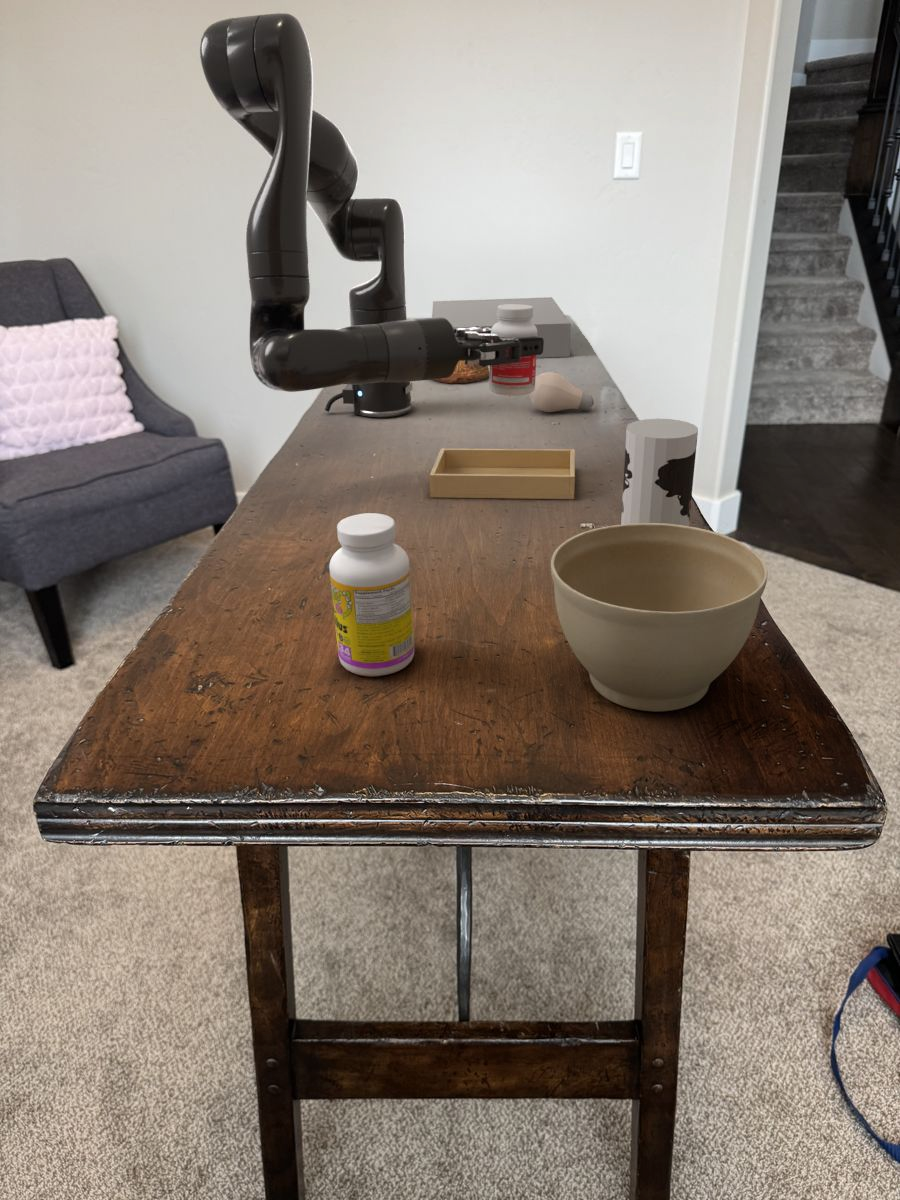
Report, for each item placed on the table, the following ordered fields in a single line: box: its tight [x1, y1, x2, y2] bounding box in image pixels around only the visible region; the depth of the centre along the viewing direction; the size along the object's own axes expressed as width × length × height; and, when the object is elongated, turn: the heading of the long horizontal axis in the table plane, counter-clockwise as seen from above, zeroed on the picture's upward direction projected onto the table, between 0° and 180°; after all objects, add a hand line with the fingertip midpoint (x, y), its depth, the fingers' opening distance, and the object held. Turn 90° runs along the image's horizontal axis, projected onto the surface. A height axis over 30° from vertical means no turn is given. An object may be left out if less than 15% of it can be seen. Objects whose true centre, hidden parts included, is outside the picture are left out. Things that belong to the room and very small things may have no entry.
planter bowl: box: [550, 523, 769, 713], centre depth 71 cm, size 16×16×11 cm
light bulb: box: [528, 371, 595, 413], centre depth 147 cm, size 7×7×11 cm
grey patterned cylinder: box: [620, 418, 699, 527], centre depth 89 cm, size 7×7×15 cm
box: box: [431, 296, 572, 359], centre depth 200 cm, size 35×29×7 cm
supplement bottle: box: [328, 512, 415, 677], centre depth 75 cm, size 7×7×13 cm
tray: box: [429, 447, 576, 500], centre depth 117 cm, size 18×11×3 cm, turn 83°
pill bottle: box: [488, 304, 537, 397], centre depth 118 cm, size 6×6×11 cm
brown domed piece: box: [432, 361, 490, 384], centre depth 171 cm, size 12×12×7 cm
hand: (529, 340), depth 118 cm, fingers closed on pill bottle, 6 cm apart
